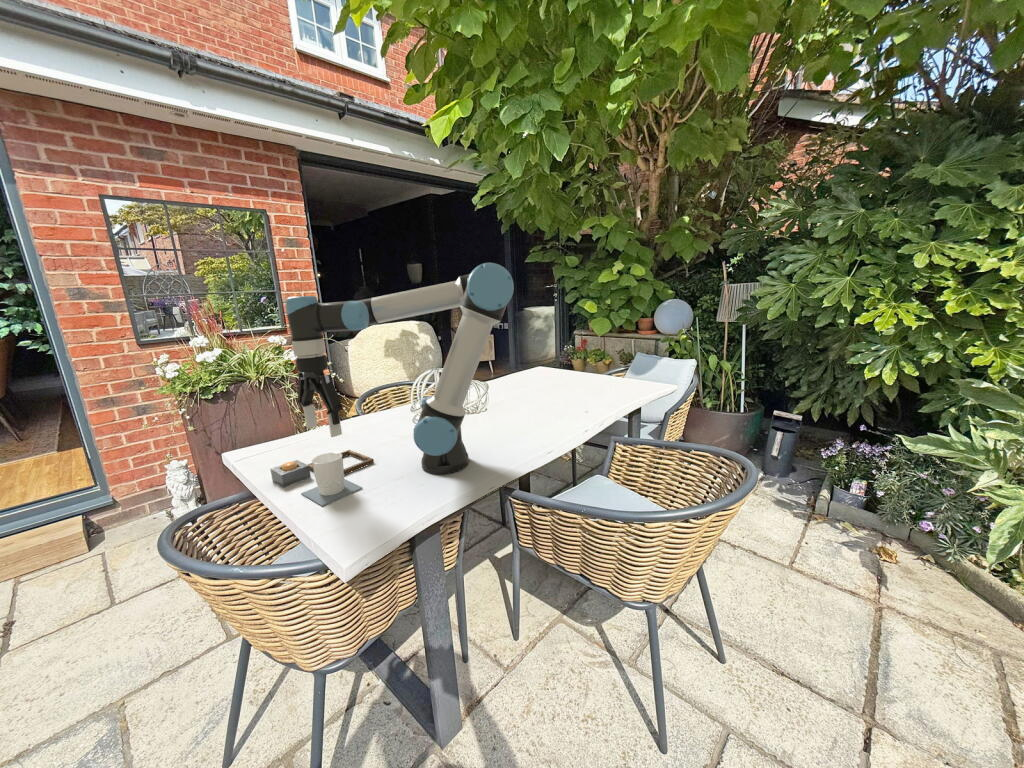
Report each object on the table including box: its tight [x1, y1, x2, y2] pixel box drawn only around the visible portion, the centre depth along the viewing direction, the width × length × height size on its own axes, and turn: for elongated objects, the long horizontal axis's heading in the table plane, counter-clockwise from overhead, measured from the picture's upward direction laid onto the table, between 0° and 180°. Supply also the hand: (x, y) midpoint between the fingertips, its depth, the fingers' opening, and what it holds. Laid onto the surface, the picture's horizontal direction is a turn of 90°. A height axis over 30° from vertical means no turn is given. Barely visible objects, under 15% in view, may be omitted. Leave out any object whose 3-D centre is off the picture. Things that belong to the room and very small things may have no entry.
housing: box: [270, 459, 311, 488], centre depth 123 cm, size 8×8×4 cm
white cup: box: [311, 452, 345, 496], centre depth 113 cm, size 8×8×10 cm
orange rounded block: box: [281, 460, 297, 472], centre depth 123 cm, size 4×4×4 cm
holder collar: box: [307, 449, 375, 475], centre depth 131 cm, size 15×15×2 cm
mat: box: [300, 478, 363, 508], centre depth 114 cm, size 12×12×1 cm
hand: (324, 431), depth 110 cm, fingers open, 13 cm apart
